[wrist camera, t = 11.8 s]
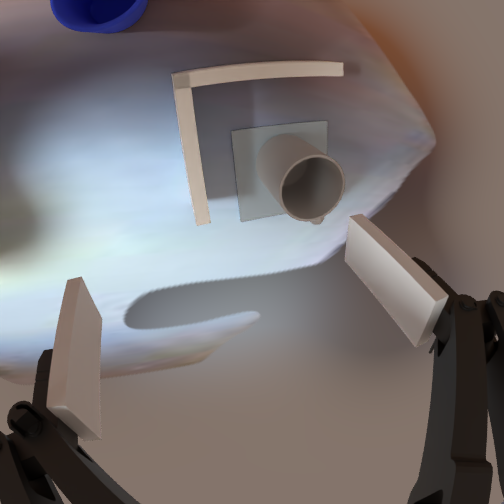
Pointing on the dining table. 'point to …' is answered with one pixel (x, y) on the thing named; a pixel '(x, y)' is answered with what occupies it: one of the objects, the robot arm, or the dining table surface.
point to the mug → (98, 14)
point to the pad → (245, 153)
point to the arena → (221, 75)
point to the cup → (300, 177)
